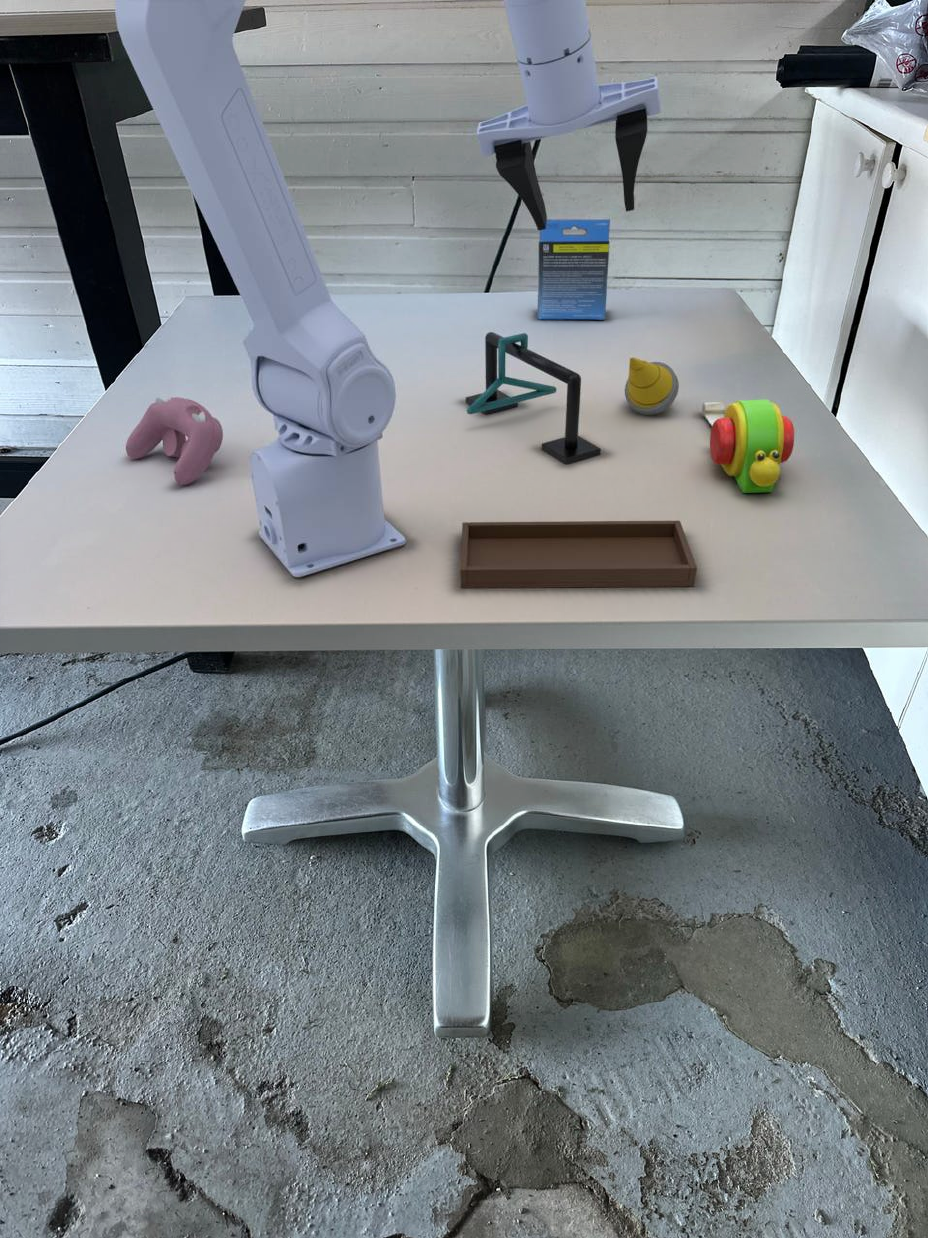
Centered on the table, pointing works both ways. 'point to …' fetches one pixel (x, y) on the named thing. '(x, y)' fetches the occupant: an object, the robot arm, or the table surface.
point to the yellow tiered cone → (650, 386)
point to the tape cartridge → (573, 270)
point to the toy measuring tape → (750, 441)
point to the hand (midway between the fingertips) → (585, 214)
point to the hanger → (509, 381)
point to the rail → (571, 444)
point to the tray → (575, 554)
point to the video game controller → (178, 436)
